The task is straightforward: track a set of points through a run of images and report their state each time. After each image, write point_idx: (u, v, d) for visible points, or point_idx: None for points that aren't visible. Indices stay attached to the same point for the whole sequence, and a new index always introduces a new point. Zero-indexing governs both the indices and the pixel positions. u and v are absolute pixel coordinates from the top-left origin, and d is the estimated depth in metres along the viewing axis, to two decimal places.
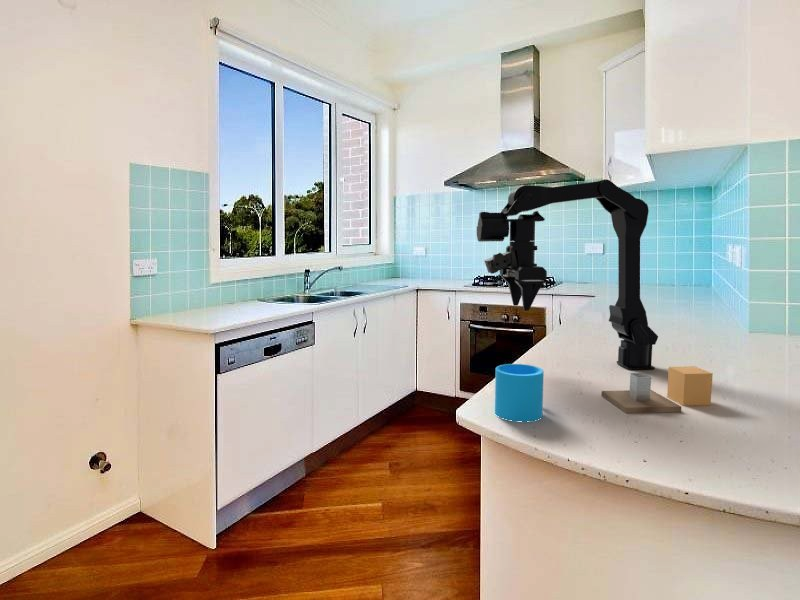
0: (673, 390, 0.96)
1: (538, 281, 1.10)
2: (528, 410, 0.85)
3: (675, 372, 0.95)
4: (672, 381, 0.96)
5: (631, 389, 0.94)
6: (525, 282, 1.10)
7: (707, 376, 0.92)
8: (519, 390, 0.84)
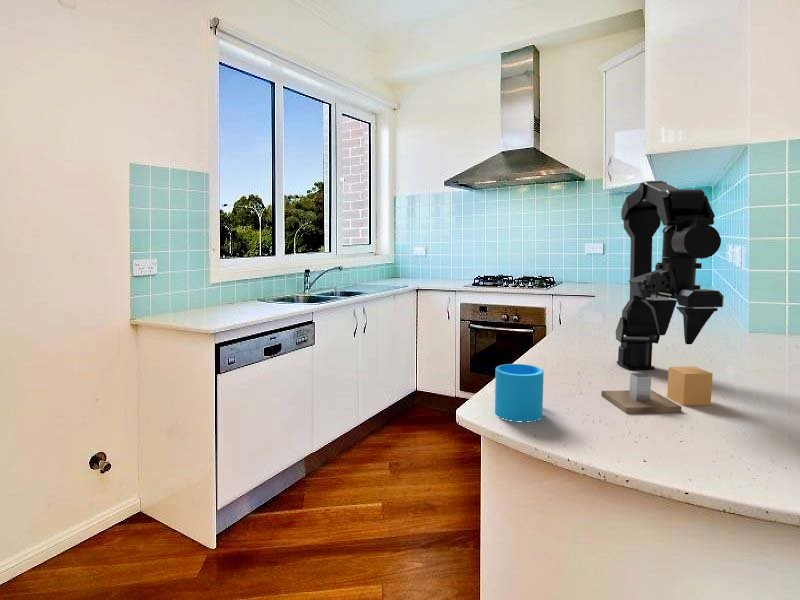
0: (673, 390, 0.96)
1: (711, 308, 0.87)
2: (528, 410, 0.85)
3: (675, 372, 0.95)
4: (672, 381, 0.96)
5: (631, 389, 0.94)
6: (694, 310, 0.87)
7: (707, 376, 0.92)
8: (519, 390, 0.84)
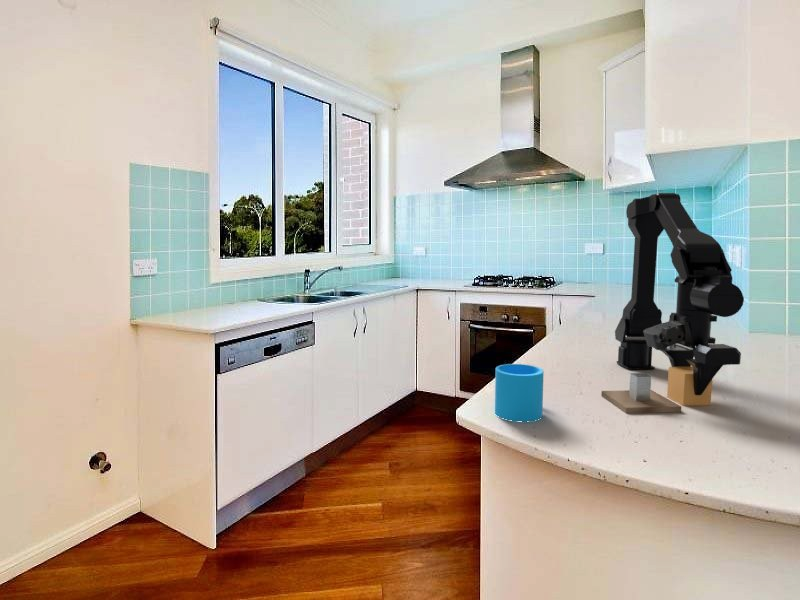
0: (673, 390, 0.96)
1: None
2: (528, 410, 0.85)
3: (675, 372, 0.95)
4: (672, 381, 0.96)
5: (631, 389, 0.94)
6: (705, 364, 0.88)
7: None
8: (519, 390, 0.84)
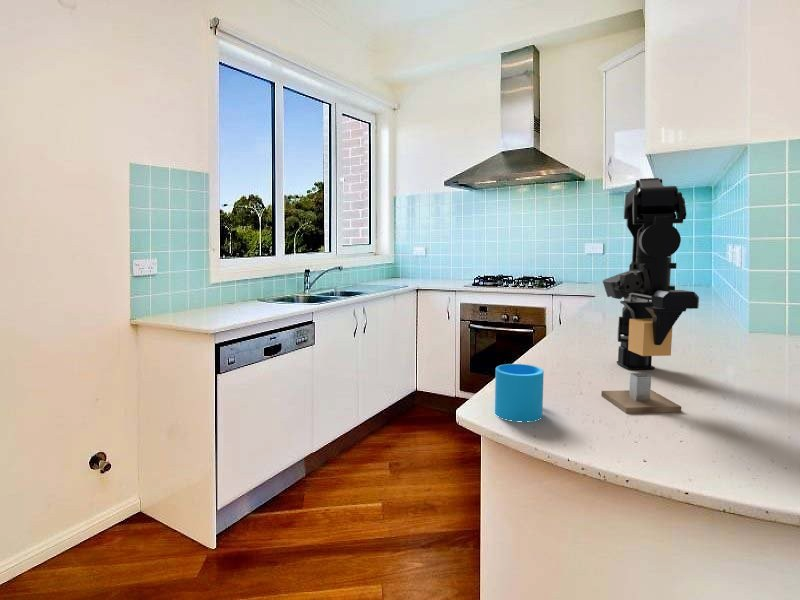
0: (633, 341, 0.93)
1: (679, 309, 0.86)
2: (528, 410, 0.85)
3: (635, 323, 0.92)
4: (633, 332, 0.93)
5: (631, 389, 0.94)
6: (663, 310, 0.86)
7: None
8: (519, 390, 0.84)
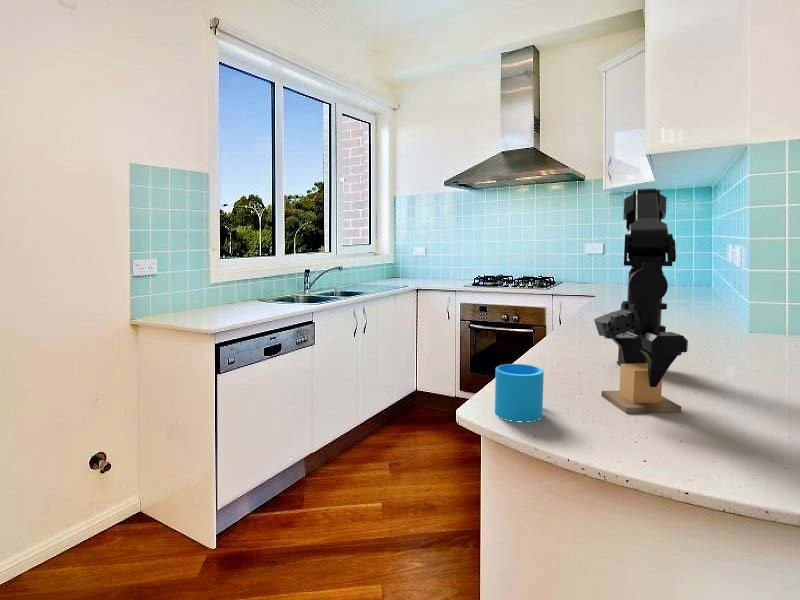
0: (624, 387, 0.94)
1: (674, 352, 0.85)
2: (528, 410, 0.85)
3: (626, 369, 0.94)
4: (623, 378, 0.95)
5: None
6: (658, 354, 0.85)
7: None
8: (519, 390, 0.84)
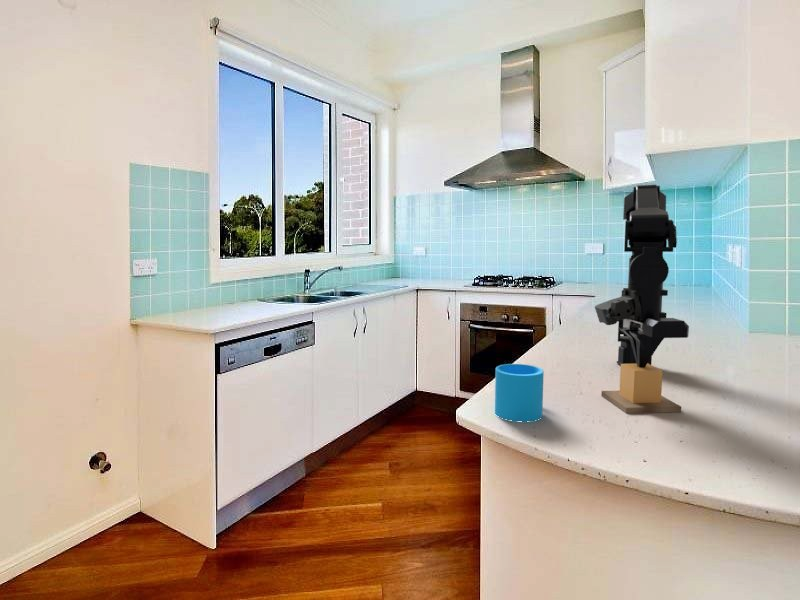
0: (624, 387, 0.94)
1: None
2: (528, 410, 0.85)
3: (626, 369, 0.94)
4: (623, 378, 0.95)
5: None
6: (646, 335, 0.89)
7: (657, 373, 0.91)
8: (519, 390, 0.84)
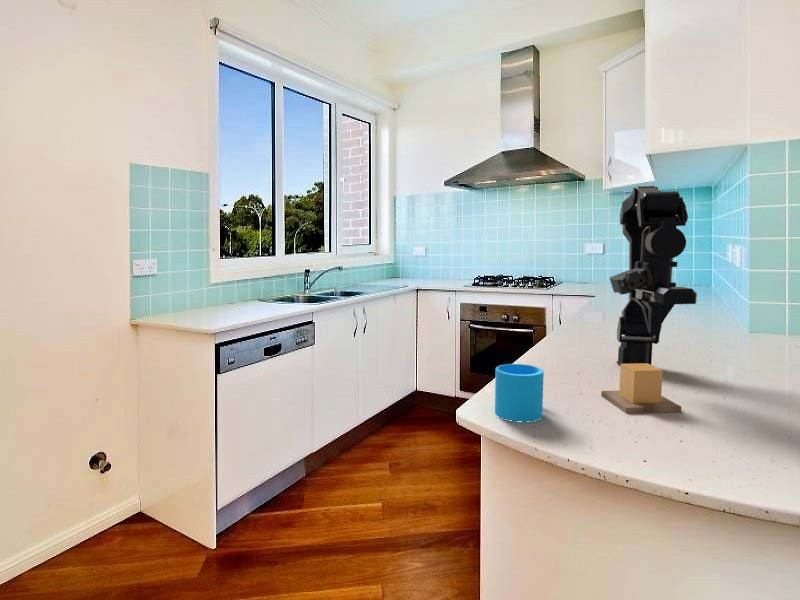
0: (624, 387, 0.94)
1: None
2: (528, 410, 0.85)
3: (626, 369, 0.94)
4: (623, 378, 0.95)
5: None
6: (657, 303, 0.97)
7: (657, 373, 0.91)
8: (519, 390, 0.84)
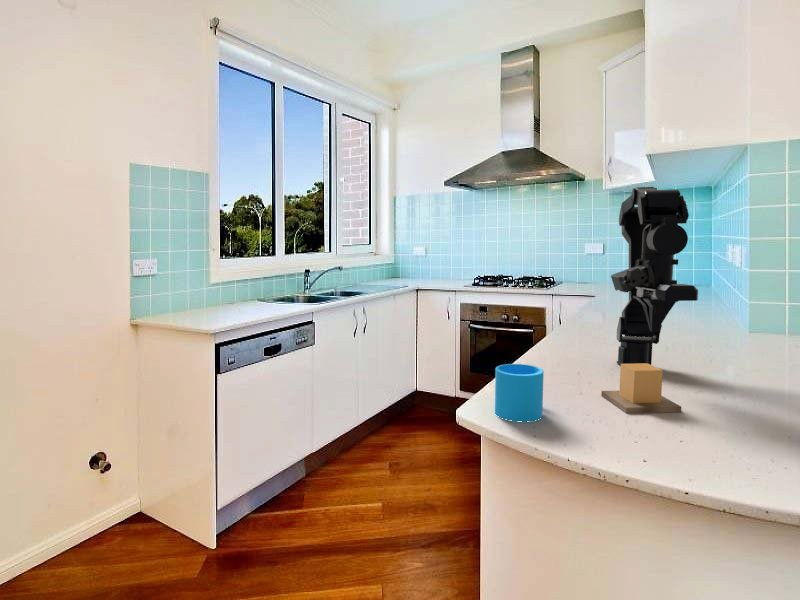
0: (624, 387, 0.94)
1: None
2: (528, 410, 0.85)
3: (626, 369, 0.94)
4: (623, 378, 0.95)
5: None
6: (658, 300, 0.97)
7: (657, 373, 0.91)
8: (519, 390, 0.84)
